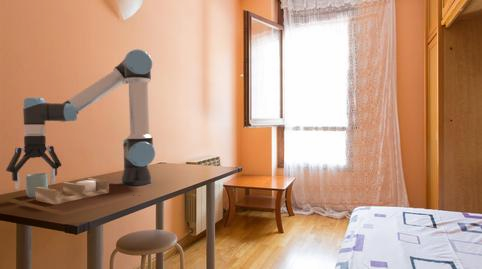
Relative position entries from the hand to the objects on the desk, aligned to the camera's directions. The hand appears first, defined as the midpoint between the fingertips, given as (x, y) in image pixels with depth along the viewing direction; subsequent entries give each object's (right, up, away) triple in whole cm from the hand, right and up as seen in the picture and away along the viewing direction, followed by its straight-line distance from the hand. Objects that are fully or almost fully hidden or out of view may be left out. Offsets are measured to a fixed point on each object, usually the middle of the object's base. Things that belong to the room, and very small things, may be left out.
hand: (35, 186), depth 133 cm
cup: (0, -5, 0) cm, 5 cm away
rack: (+17, -5, -2) cm, 18 cm away
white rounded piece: (+20, -4, +3) cm, 20 cm away
